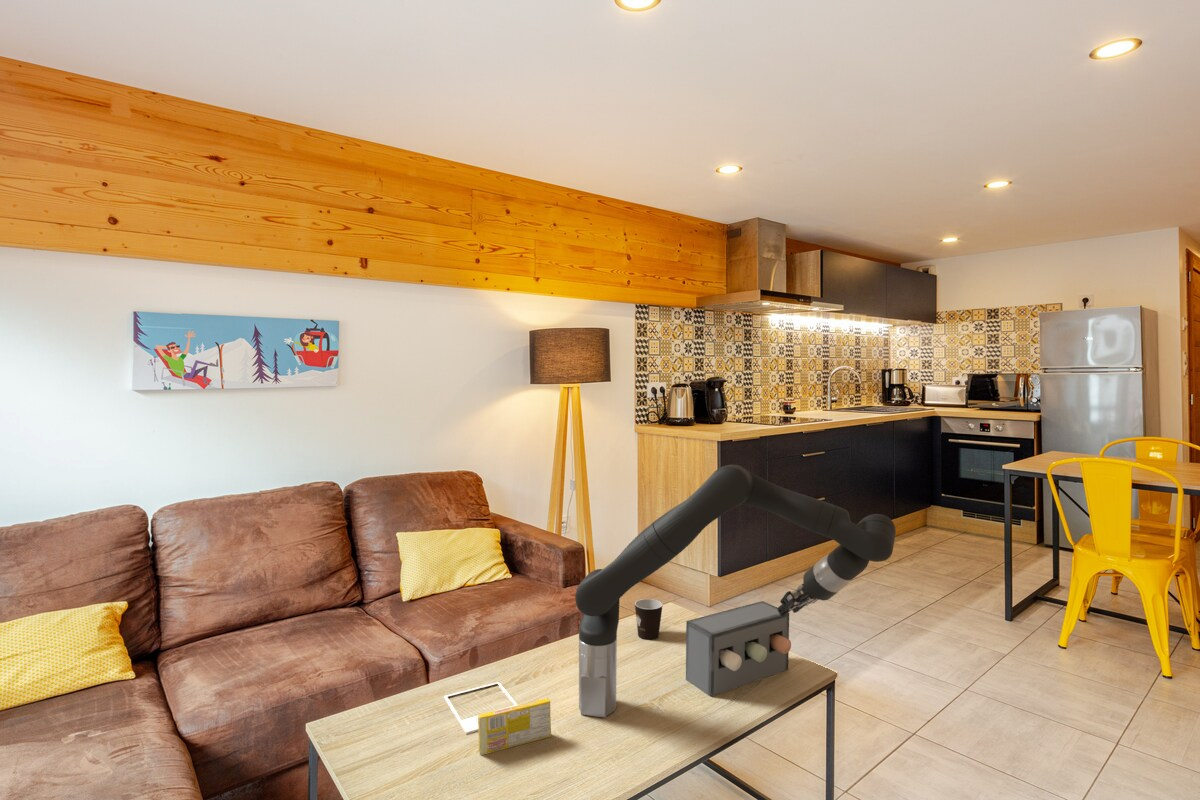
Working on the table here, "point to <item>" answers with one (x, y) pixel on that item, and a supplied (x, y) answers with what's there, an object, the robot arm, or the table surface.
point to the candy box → (514, 726)
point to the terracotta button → (780, 643)
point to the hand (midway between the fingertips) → (786, 610)
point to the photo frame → (472, 723)
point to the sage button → (755, 651)
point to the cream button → (730, 659)
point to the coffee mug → (648, 618)
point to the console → (733, 646)
